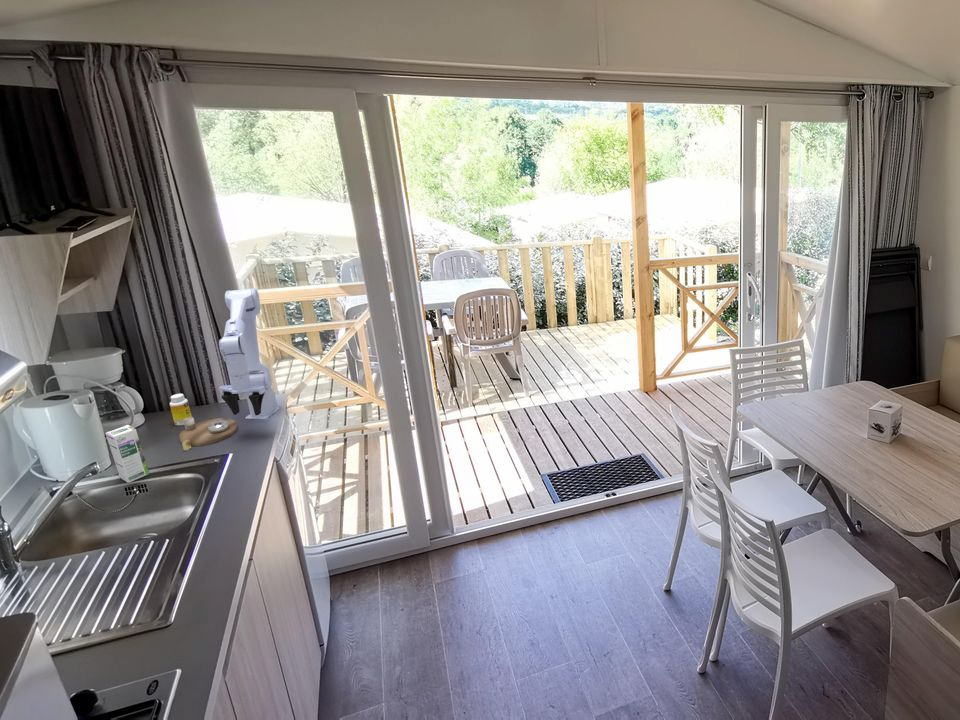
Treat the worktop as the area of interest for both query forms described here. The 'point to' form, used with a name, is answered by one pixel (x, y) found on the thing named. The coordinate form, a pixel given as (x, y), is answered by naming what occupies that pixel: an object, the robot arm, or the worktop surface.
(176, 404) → the supplement bottle
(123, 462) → the syrup box
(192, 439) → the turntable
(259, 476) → the worktop surface
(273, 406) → the robot arm
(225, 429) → the metal cover
